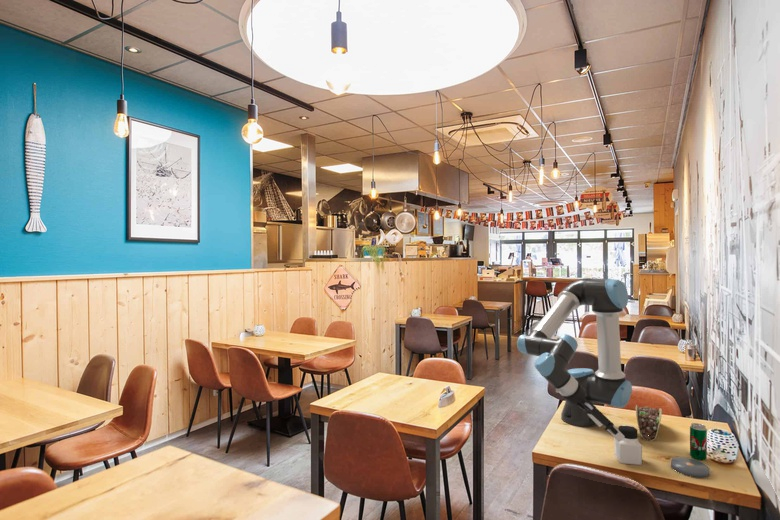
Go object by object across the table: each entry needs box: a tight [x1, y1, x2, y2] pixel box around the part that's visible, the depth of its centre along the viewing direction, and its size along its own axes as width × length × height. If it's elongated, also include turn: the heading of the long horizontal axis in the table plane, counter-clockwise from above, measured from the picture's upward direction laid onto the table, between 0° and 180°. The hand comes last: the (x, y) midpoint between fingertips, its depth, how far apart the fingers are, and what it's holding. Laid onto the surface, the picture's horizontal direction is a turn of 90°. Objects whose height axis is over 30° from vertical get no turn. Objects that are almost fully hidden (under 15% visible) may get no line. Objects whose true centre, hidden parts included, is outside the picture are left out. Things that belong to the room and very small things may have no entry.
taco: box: [635, 404, 663, 442], centre depth 186 cm, size 10×27×10 cm, turn 149°
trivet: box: [670, 456, 711, 479], centre depth 150 cm, size 11×11×2 cm
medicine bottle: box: [613, 424, 643, 466], centre depth 158 cm, size 7×7×12 cm
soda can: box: [689, 422, 708, 461], centre depth 160 cm, size 5×5×12 cm
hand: (611, 431), depth 158 cm, fingers open, 13 cm apart
